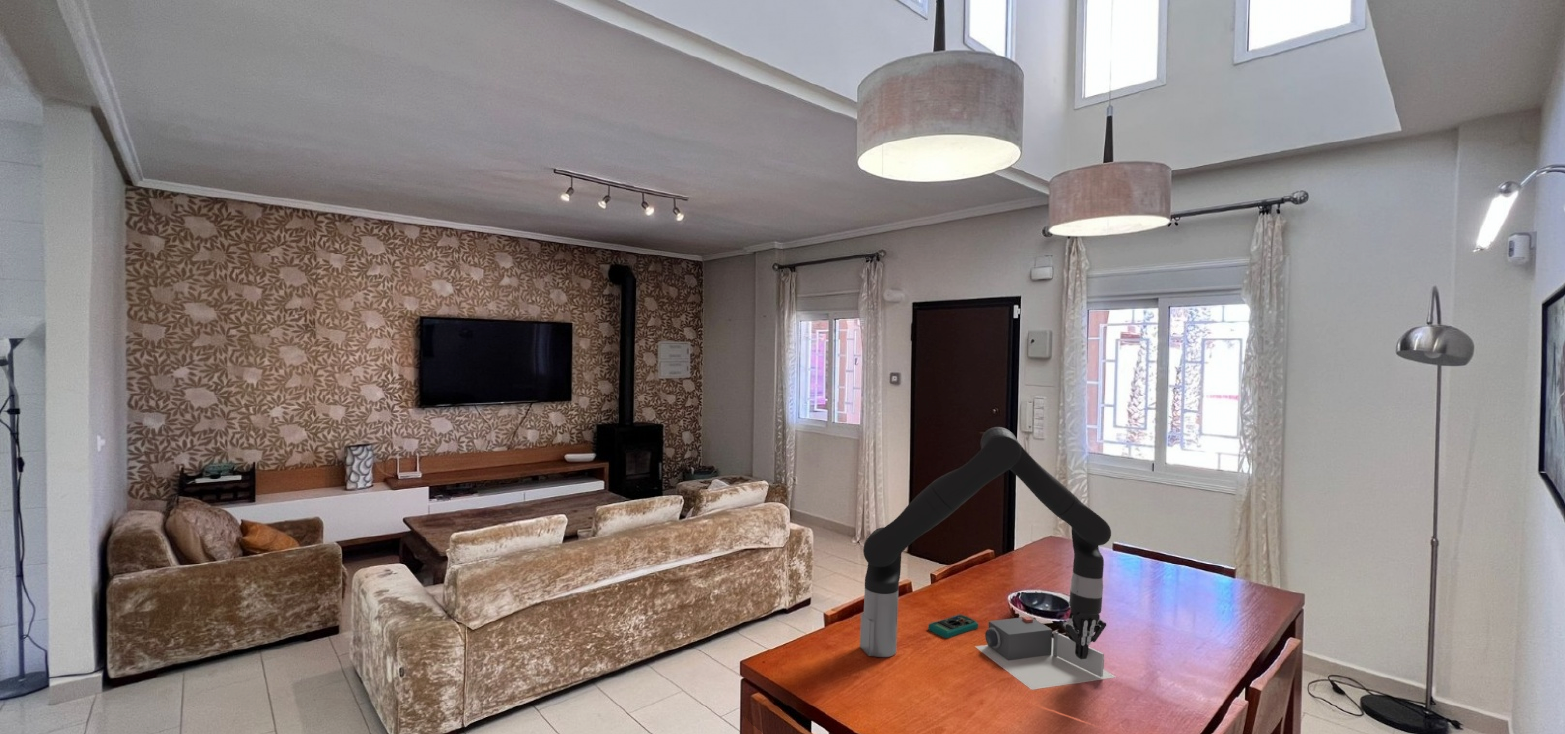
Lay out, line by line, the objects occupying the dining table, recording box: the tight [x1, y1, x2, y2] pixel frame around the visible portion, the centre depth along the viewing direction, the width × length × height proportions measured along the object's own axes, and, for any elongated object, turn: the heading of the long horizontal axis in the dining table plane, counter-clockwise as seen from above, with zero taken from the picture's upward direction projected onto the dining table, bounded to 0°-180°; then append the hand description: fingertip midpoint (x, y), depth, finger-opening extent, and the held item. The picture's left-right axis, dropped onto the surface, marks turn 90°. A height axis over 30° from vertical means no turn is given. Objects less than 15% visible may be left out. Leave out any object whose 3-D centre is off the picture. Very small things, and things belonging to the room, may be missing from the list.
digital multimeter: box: [928, 614, 979, 639], centre depth 191 cm, size 7×15×3 cm, turn 124°
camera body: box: [984, 616, 1053, 660], centre depth 177 cm, size 16×9×8 cm, turn 107°
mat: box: [974, 637, 1116, 691], centre depth 172 cm, size 26×24×1 cm
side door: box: [1052, 630, 1105, 677], centre depth 169 cm, size 14×2×6 cm, turn 30°
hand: (1081, 657), depth 165 cm, fingers closed
